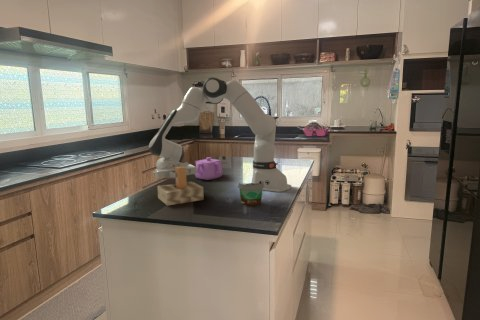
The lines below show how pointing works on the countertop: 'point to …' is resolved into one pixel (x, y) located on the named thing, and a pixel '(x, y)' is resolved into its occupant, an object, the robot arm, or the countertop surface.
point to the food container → (251, 193)
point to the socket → (180, 193)
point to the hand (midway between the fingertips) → (181, 174)
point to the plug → (181, 177)
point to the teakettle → (208, 168)
